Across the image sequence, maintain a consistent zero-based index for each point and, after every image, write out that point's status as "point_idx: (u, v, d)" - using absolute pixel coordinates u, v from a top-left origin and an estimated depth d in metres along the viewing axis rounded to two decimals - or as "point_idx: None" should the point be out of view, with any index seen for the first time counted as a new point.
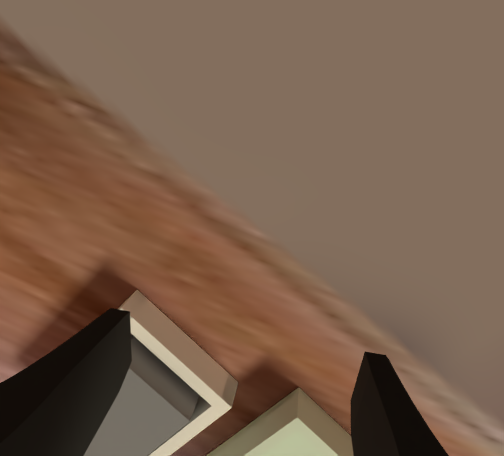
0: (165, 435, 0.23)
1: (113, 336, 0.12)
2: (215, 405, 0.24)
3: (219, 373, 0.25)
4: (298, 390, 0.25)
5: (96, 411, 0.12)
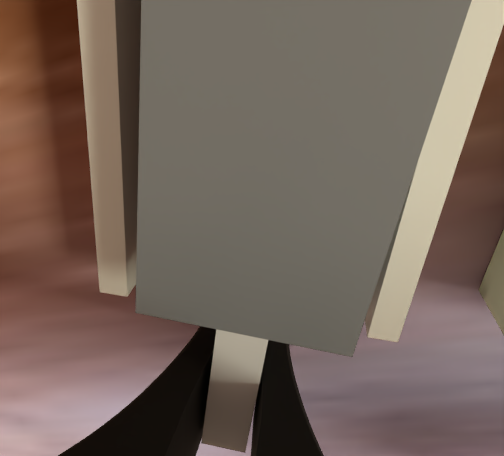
0: (435, 61, 0.07)
1: None
2: None
3: None
4: None
5: (198, 430, 0.12)
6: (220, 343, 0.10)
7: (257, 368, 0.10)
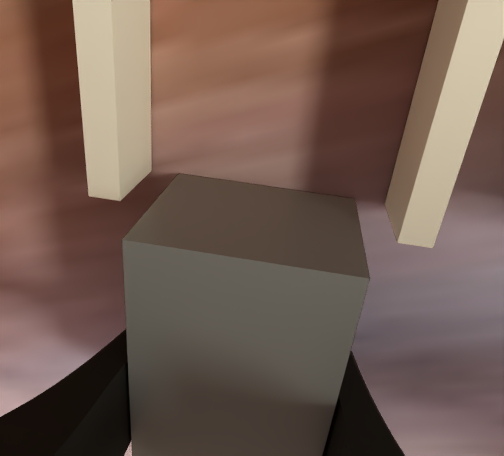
0: (340, 345, 0.09)
1: None
2: None
3: None
4: None
5: None
6: None
7: None
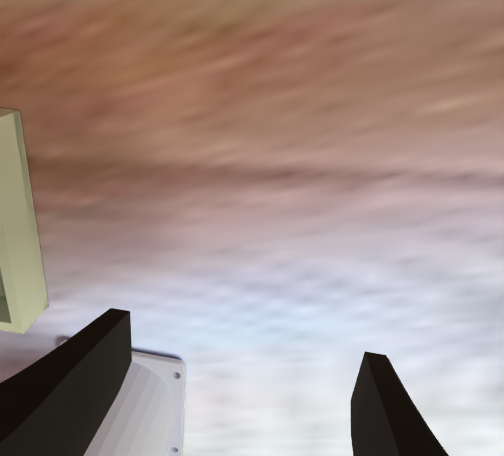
0: None
1: (113, 336, 0.12)
2: None
3: None
4: None
5: (96, 410, 0.12)
6: None
7: None
